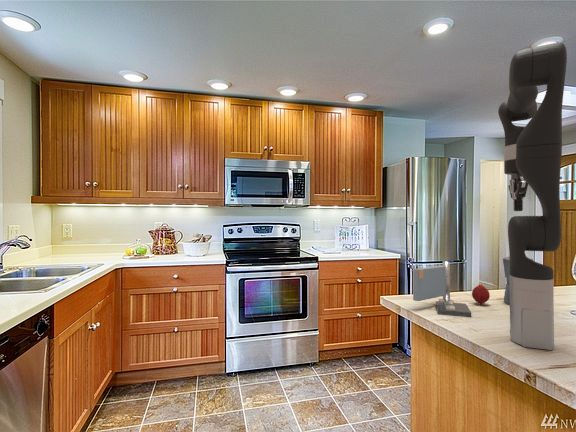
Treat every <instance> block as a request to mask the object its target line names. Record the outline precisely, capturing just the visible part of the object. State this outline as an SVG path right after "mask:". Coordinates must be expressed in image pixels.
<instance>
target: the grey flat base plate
mask: <svg viewBox="0 0 576 432" xmlns="http://www.w3.org/2000/svg"><path fill="white" fill-rule="evenodd" d="M435 307H436V310H437V311H436V312H437V314H438V315H444V316H452V317H453V316H455V317H467V318H472V311H471V310H470V308H469V306H468V305H467V303H462V302H454V303H452V301H444V302H440V301H439V300H438V301H437V300H435Z"/></svg>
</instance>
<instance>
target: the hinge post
mask: <svg viewBox="0 0 576 432" xmlns="http://www.w3.org/2000/svg"><path fill="white" fill-rule="evenodd" d="M450 262H451V261H446V260H445V261H443V260H442V266H445V274H446V296H442V298H438V301H440V302H444V301H452V303H455V301H454V300H453V299H451V281H450V279H451V278H450V277H451V276H450V275H451V272H450V269H451V267H450V265H451V263H450Z"/></svg>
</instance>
